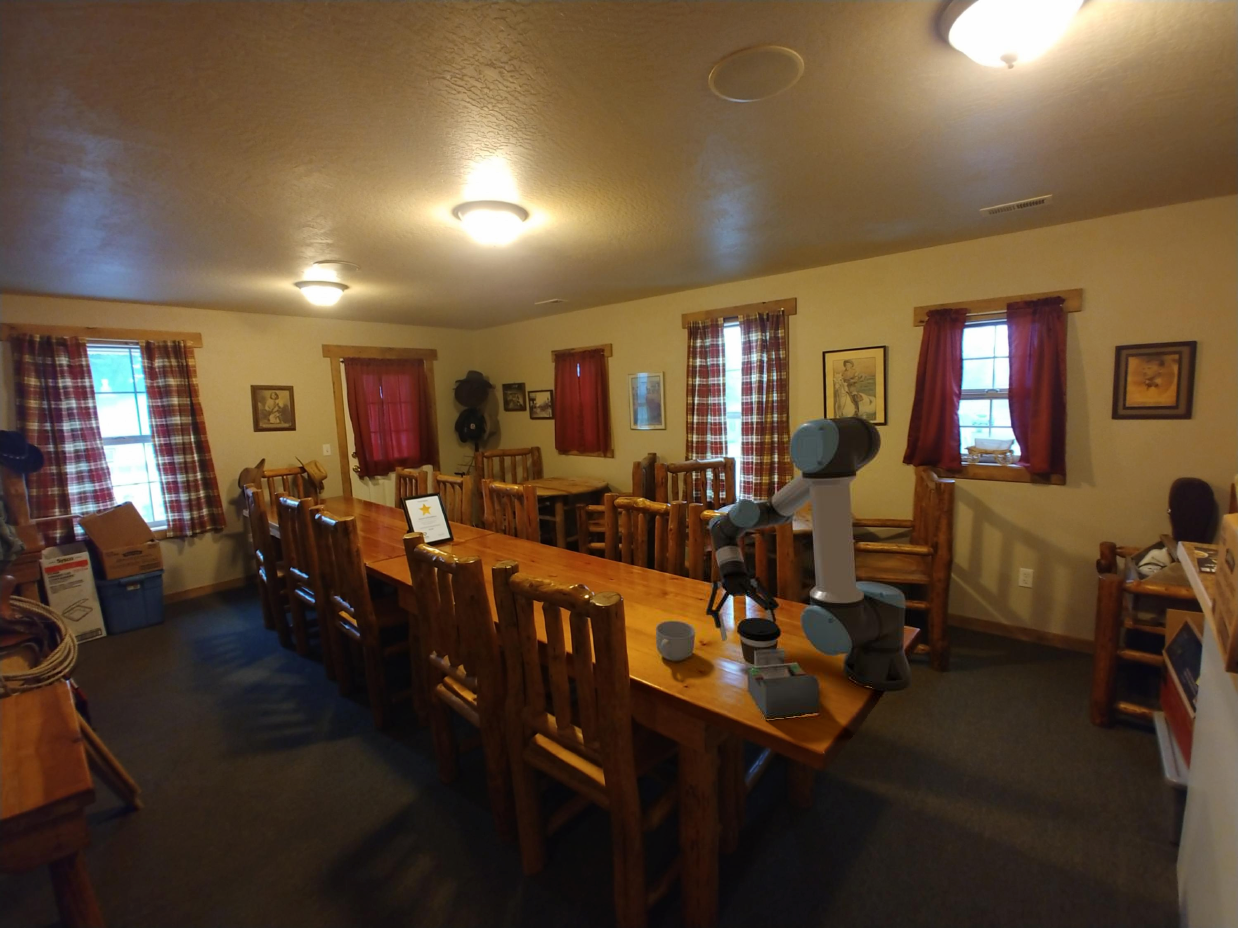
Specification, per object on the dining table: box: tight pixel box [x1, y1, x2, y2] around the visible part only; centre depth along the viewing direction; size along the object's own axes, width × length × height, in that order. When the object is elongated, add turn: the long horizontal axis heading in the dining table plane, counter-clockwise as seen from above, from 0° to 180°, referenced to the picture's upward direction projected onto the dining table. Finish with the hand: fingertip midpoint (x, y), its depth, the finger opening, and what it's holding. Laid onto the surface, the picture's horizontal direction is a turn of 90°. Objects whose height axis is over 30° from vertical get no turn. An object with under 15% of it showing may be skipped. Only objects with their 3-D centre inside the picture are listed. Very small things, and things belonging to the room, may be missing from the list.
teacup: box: [655, 620, 696, 662], centre depth 140 cm, size 14×11×8 cm
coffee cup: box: [736, 617, 782, 671], centre depth 132 cm, size 11×11×12 cm
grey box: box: [747, 664, 820, 720], centre depth 117 cm, size 12×12×8 cm
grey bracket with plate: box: [752, 647, 799, 679], centre depth 122 cm, size 6×11×8 cm, turn 95°
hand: (749, 637), depth 137 cm, fingers open, 13 cm apart
